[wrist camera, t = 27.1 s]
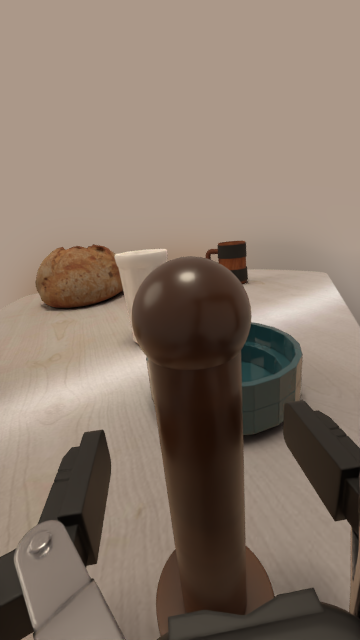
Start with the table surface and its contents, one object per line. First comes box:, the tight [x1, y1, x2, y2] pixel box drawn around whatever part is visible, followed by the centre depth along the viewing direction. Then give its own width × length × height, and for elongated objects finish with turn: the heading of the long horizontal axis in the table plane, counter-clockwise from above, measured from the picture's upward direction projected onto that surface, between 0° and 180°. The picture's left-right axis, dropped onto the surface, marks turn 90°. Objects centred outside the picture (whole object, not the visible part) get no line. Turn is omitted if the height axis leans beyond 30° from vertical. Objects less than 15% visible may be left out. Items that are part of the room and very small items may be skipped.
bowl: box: [146, 323, 303, 435], centre depth 29 cm, size 15×15×6 cm
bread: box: [36, 245, 123, 308], centre depth 79 cm, size 26×23×15 cm
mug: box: [206, 241, 248, 284], centre depth 80 cm, size 9×12×12 cm
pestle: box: [132, 257, 274, 636], centre depth 10 cm, size 5×5×17 cm
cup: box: [114, 249, 168, 343], centre depth 44 cm, size 8×8×14 cm
